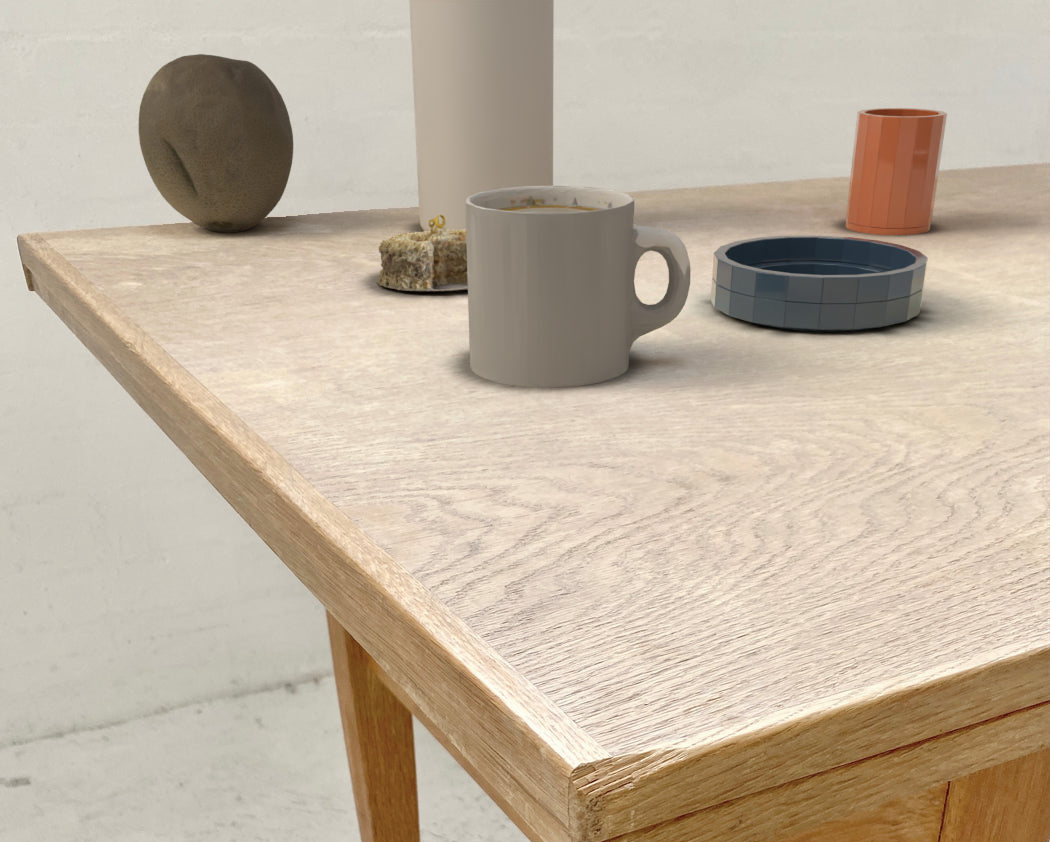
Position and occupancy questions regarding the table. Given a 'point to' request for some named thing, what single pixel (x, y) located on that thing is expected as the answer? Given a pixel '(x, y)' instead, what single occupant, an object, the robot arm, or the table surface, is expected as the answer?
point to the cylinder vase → (480, 100)
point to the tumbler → (895, 170)
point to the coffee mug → (561, 284)
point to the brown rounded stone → (216, 140)
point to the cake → (424, 259)
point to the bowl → (818, 282)
